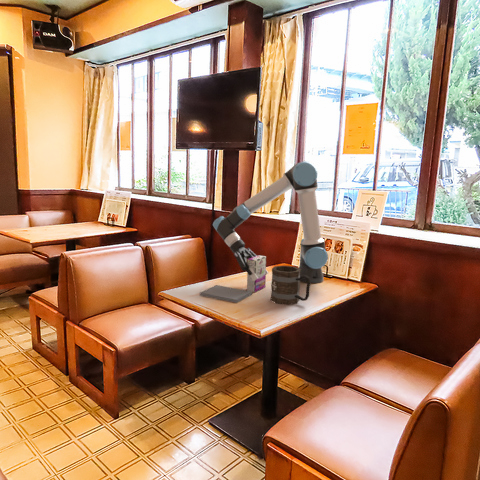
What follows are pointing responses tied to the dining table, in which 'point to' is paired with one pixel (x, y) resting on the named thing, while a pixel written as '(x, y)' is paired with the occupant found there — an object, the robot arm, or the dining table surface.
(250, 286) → the candy bar box
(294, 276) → the mug
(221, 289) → the slate board
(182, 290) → the dining table surface
